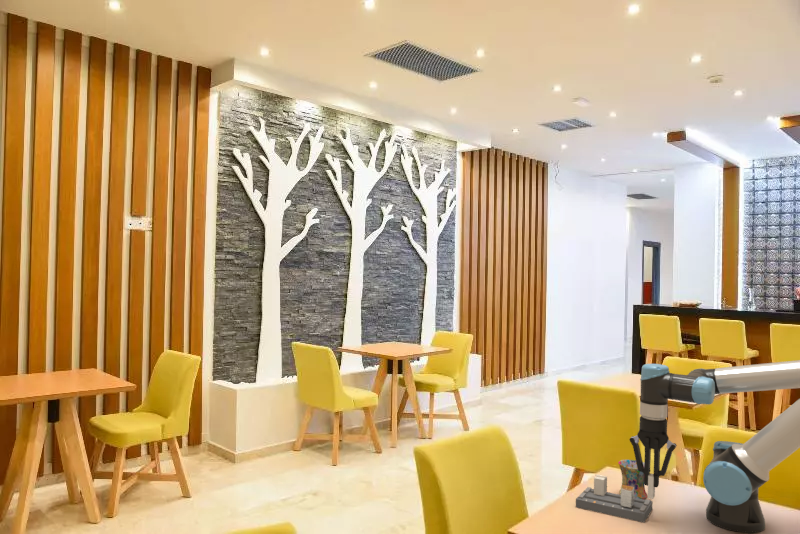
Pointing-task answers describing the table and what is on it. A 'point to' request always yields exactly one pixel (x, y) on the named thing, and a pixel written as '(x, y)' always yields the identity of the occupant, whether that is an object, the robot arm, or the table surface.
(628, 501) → the fader
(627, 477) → the mug
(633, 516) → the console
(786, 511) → the table surface
